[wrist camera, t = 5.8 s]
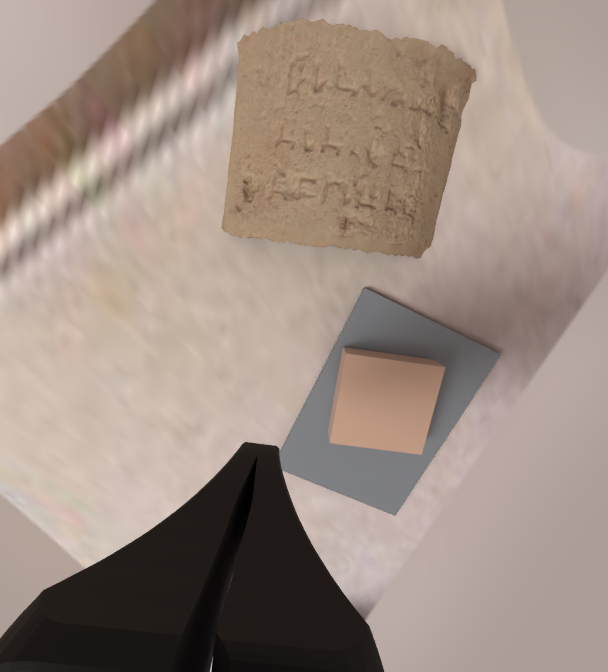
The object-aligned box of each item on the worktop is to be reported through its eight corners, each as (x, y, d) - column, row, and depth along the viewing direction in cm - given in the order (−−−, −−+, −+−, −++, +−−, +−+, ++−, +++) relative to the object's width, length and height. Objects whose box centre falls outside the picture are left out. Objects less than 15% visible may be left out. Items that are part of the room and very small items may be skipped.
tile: (327, 428, 19) (411, 439, 20) (329, 442, 18) (421, 454, 18) (342, 346, 18) (433, 358, 18) (346, 353, 17) (445, 367, 17)
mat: (393, 511, 22) (395, 515, 21) (274, 463, 21) (273, 466, 20) (496, 352, 19) (501, 354, 18) (363, 287, 18) (365, 288, 17)
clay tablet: (479, 80, 16) (515, 41, 13) (438, 265, 18) (461, 264, 15) (221, 43, 15) (204, -4, 13) (213, 237, 18) (197, 231, 15)
